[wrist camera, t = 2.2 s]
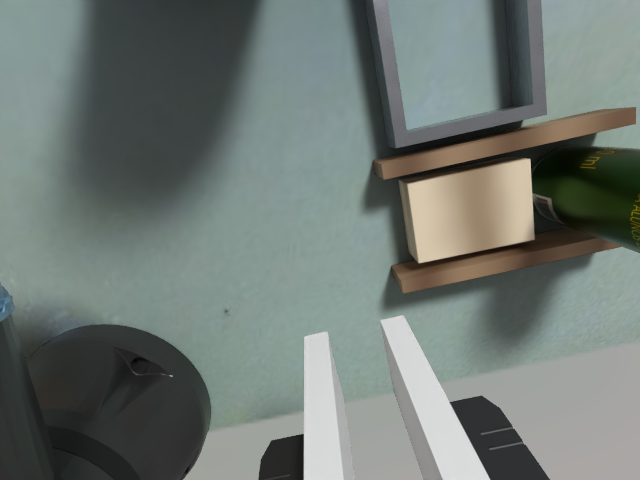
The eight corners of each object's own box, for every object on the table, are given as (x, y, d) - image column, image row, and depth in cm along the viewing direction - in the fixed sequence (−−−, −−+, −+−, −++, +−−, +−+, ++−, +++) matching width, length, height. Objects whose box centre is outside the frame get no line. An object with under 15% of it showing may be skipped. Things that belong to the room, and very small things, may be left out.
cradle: (525, 115, 27) (546, 114, 24) (388, 146, 27) (396, 148, 25) (509, -120, 23) (533, -149, 21) (350, -82, 23) (356, -107, 21)
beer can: (552, 233, 29) (714, 301, 18) (508, 184, 28) (649, 223, 16) (611, 181, 28) (822, 216, 17) (567, 128, 27) (762, 127, 16)
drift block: (407, 250, 29) (418, 263, 27) (397, 179, 28) (407, 184, 25) (512, 228, 29) (534, 239, 26) (507, 155, 28) (530, 158, 25)
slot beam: (393, 277, 30) (403, 293, 27) (373, 160, 27) (381, 164, 24) (601, 232, 29) (634, 243, 26) (600, 109, 27) (635, 107, 24)
